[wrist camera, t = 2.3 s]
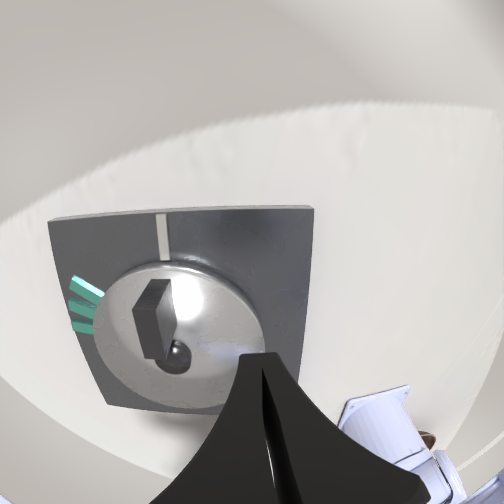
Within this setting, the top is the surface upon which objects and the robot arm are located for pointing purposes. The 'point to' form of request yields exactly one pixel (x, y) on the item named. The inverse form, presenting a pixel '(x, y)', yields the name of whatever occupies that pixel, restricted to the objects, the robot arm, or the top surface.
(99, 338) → the dial
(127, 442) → the top surface
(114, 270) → the panel
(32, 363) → the top surface
